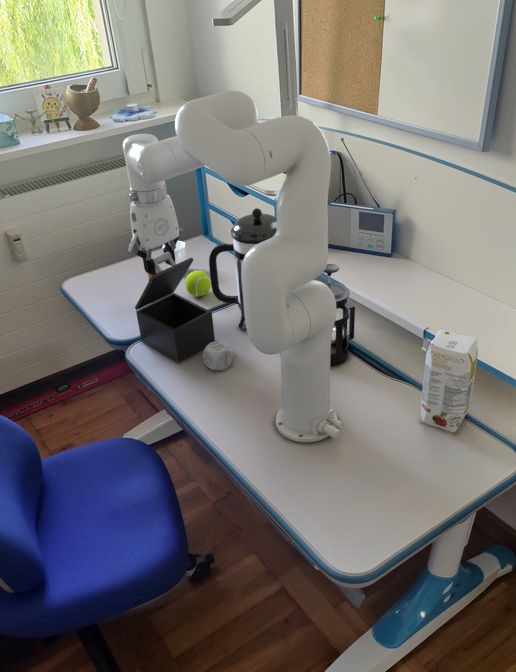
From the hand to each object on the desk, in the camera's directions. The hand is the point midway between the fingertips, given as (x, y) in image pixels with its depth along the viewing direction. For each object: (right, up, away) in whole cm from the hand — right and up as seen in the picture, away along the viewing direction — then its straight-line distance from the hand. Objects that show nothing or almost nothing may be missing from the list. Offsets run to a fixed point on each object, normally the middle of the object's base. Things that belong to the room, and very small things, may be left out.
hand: (160, 268), depth 153 cm
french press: (+40, -20, +1) cm, 44 cm away
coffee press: (+23, -11, +16) cm, 30 cm away
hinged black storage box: (+3, -17, +9) cm, 20 cm away
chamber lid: (+1, -4, +2) cm, 4 cm away
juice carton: (+60, -33, -20) cm, 71 cm away
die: (+14, -23, 0) cm, 26 cm away
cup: (-1, +4, +40) cm, 41 cm away
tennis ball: (+6, -4, +29) cm, 30 cm away
